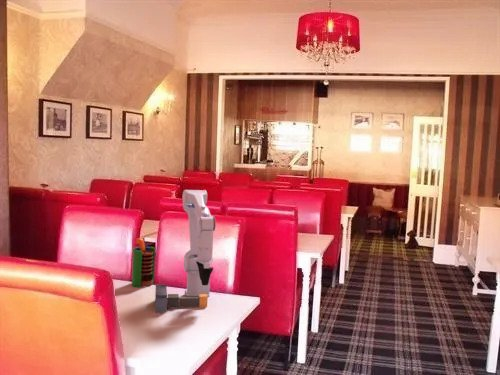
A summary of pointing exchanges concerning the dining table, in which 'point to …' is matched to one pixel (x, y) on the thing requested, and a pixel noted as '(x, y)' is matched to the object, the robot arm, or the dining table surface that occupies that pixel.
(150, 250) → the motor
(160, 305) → the housing
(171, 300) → the plug
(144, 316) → the dining table surface
